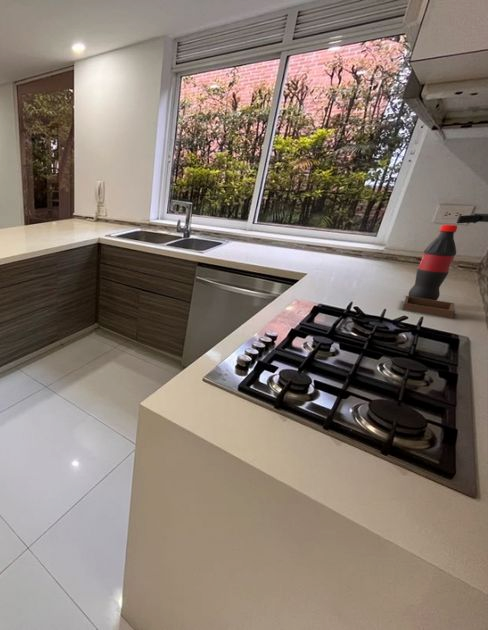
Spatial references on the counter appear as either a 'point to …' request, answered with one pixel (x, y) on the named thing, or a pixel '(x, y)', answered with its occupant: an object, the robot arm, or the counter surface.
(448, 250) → the cola bottle
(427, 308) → the bottle tray
